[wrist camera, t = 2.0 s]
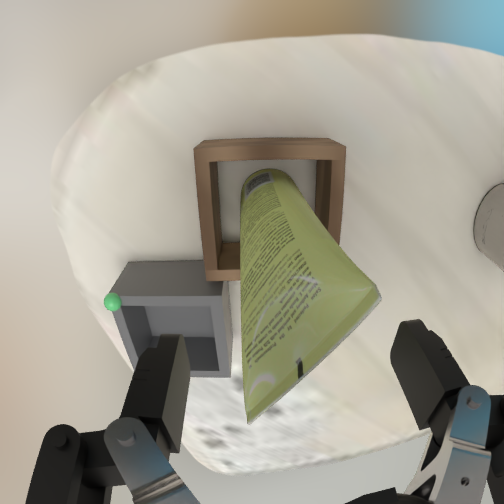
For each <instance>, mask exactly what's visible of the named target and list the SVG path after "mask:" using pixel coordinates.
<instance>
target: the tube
mask: <svg viewBox="0 0 504 504" xmlns="http://www.w3.org/2000/svg"><path fill="white" fill-rule="evenodd" d="M240 279H241V334H242V368H243V388H244V402H245V410H246V415H247V424H248V425H250V424H251V423H252V422H253V421H255V420H256V419H257V418H258V417H260V416H261V415H262V414H263V413H264V412H265V411H267V410H268V409H269V408H270V407H271V406H273V405H274V404H275V403H276V402H277V401H279V400H280V399H281V398H282V397H283V396H284V395H285V394H287V393H288V392H289V391H290V390H291V389H292V388H293V387H294V386H295V385H296V384H298V383H299V382H300V381H301V380H302V379H303V378H304V377H305V376H306V375H307V374H309V373H310V372H311V371H312V370H313V369H314V368H315V367H316V366H317V365H319V364H320V363H321V362H322V361H323V360H324V359H325V358H326V357H327V356H328V355H329V354H330V353H331V352H332V351H333V350H334V349H335V348H336V347H337V346H338V345H339V344H340V343H341V342H342V341H344V340H345V339H346V338H347V337H348V336H349V335H350V334H351V333H352V332H353V331H354V330H355V329H356V328H357V327H358V326H359V325H360V324H361V323H362V321H363V320H364V319H365V318H366V317H367V316H368V315H369V314H370V313H371V312H372V311H373V310H374V308H375V307H376V306H377V305H378V304H379V303H380V301H381V299H382V297H381V295H380V293H379V291H378V289H377V287H376V284H374V283H373V282H372V281H371V280H370V279H369V278H368V277H367V276H366V275H365V274H364V273H363V272H362V271H361V270H360V269H359V268H358V267H357V266H356V265H355V264H354V263H353V262H352V261H351V259H350V258H349V257H348V256H347V255H346V254H345V252H344V251H343V250H342V249H341V247H340V246H339V245H338V244H337V242H336V241H335V240H334V239H333V237H332V236H331V235H330V233H329V232H328V231H327V230H326V228H325V227H324V226H323V224H322V223H321V222H320V220H319V219H318V217H317V216H316V215H315V213H314V212H313V211H312V209H311V208H310V206H309V205H308V203H307V202H306V200H305V199H304V197H303V196H302V194H301V192H300V191H299V189H298V188H297V186H296V184H295V183H294V181H293V180H292V179H291V178H290V177H289V176H288V175H287V174H286V173H284V172H282V171H279V170H276V169H264V170H260V171H258V172H256V173H254V174H253V175H251V176H250V177H249V178H248V179H247V181H246V182H245V184H244V185H243V188H242V192H241V208H240Z"/></svg>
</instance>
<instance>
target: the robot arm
mask: <svg viewBox="0 0 504 504" xmlns="http://www.w3.org/2000/svg"><path fill="white" fill-rule="evenodd" d="M474 237H475V242H476V245H477V247H478V248H479V250H480V251H481V252H482V253H483V254H485V255H486V256H487V257H488V258H489V259H490V260H492V261H493V262H494V263H495V264H496V265H497V266H498V267H499V268H500V269H501V270H503V271H504V184H500V185H498V186H496V187H494V188H493V189H492V190H491V191H490V192H489V193H488V194H487V195H486V196H485V198H484V200H483V201H482V203H481V205H480V207H479V210H478V212H477V216H476V219H475V225H474ZM390 359H391V364H392V367H393V369H394V371H395V373H396V376H397V378H398V380H399V382H400V385H401V387H402V389H403V392H404V394H405V396H406V399H407V401H408V403H409V406H410V408H411V410H412V413H413V415H414V418H415V420H416V423H417V425H418V428H419V430H422V429H426V428H429V427H430V428H431V431H432V432H431V434H430V436H429V438H428V441H427V444H426V447H425V450H424V453H423V455H422V458H421V461H420V463H419V466H418V469H417V471H416V474H415V476H414V478H413V479H412V481H411V482H410V483H409V485H408V486H407V488H406V490H405V492H404V494H399V493H396V489H395V487H393V488H390V489H386V490H382V491H378V492H375V493H370V494H366V495H363V496H361V497H359V498H356V499H354V500H352V501H350V502H348V503H345V504H480V503H481V499H482V495H483V492H484V488H485V484H486V480H487V482H488V485H489V488H490V492H491V495H492V498H493V502H494V504H504V395H488V393H487V392H486V391H485V390H484V389H483V388H481V387H479V386H476V385H470V384H469V382H468V380H467V379H466V377H465V375H464V374H463V372H462V370H461V369H460V367H459V365H458V364H457V362H456V361H455V359H454V357H452V354H451V353H450V351H449V349H448V350H447V346H446V345H445V343H444V342H443V340H442V339H441V338H440V337H439V336H438V335H437V334H435V333H434V332H433V331H432V330H430V331H428V329H427V328H426V326H425V325H424V323H423V322H422V321H421V320H420V319H416V320H409V321H402V322H401V323H400V325H399V328H398V331H397V334H396V337H395V340H394V343H393V346H392V348H391V353H390ZM189 382H190V363H189V358H188V354H187V350H186V345H185V341H184V337H183V335H182V334H161V335H160V338H159V341H158V345H157V348H150V347H148V348H147V349H146V350H145V351H144V352H143V353H142V355H141V356H140V357H139V359H138V362H137V365H136V368H135V371H134V374H133V377H132V381H131V383H130V386H129V390H128V393H127V396H126V399H125V402H124V406H123V409H122V412H121V415H120V417H119V419H116V420H115V421H113V422H112V423H111V424H109V425H108V427H107V428H106V429H105V430H101V431H94V432H85V433H78V432H77V431H76V429H75V428H73V427H72V426H69V425H66V424H60V425H57V426H54V427H52V428H51V429H50V430H49V431H48V432H47V433H46V435H45V437H44V439H43V442H42V445H41V449H40V452H39V455H38V458H37V461H36V465H35V469H34V472H33V475H32V479H31V483H30V487H29V491H28V495H27V499H26V504H110V500H111V494H112V487H113V486H118V485H127V487H128V488H129V490H130V492H131V494H132V496H133V502H134V504H200V503H199V501H198V500H197V499H196V498H195V496H194V495H193V494H192V492H191V491H190V490H189V489H188V487H187V486H186V485H185V484H184V482H183V481H182V480H181V478H180V477H179V476H178V475H177V473H176V472H175V471H174V469H173V468H172V466H171V465H170V463H169V456H170V453H179V452H180V444H181V437H182V429H183V422H184V415H185V408H186V402H187V395H188V388H189Z"/></svg>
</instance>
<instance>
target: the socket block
mask: <svg viewBox="0 0 504 504" xmlns="http://www.w3.org/2000/svg"><path fill="white" fill-rule="evenodd" d="M104 305H105V307H106V308H107V309H108V310H110V311H112V312H113V315H114V318H115V321H116V324H117V327H118V330H119V332H120V335H121V338H122V341H123V343H124V346H125V349H126V351H127V354H128V356H129V359H130V361H131V364H132V366H133V369H134V371H135V368H136V365H137V362H138V359H139V357H140V356H141V355H142V353H143V352H144V351H145V350H146V349H147V348H148V347H150V348H157V345H158V341H159V338H160V335H161V334H182V335H183V337H184V341H185V345H186V350H187V354H188V358H189V363H190V377H221V378H227V377H231V362H232V343H233V334H232V323H231V312H230V300H229V288H228V281H206V274H205V265H204V260H191V261H153V262H128V264H127V265H126V267H125V268H124V270H123V271H122V273H121V275H120V276H119V278H118V279H117V281H116V282H115V284H114V286H113V287H112V289H111V290H110V292H109V293H108V294H107V295H106V296H105V298H104Z"/></svg>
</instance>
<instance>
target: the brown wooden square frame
mask: <svg viewBox="0 0 504 504" xmlns="http://www.w3.org/2000/svg"><path fill="white" fill-rule="evenodd" d="M272 159H316V160H317V172H316V201H315V215H316V216H317V217H318V219H319V220H320V222H321V223H322V224H323V226H324V227H325V228H326V230H327V231H328V232H329V233H330V235H331V236H332V237H333V239H334V240H335V241H336V242H337V244H338V245H339V242H340V232H341V221H342V208H343V194H344V178H345V159H346V146H344V145H342V144H340V143H337V142H335V141H333V140H331V139H329V138H242V139H220V140H204V141H203V142H201V143H200V144H199V145H198V146H196V147H195V148H194V160H195V173H196V185H197V197H198V208H199V218H200V228H201V238H202V247H203V256H204V265H205V274H206V281H236V280H241V279H240V242H235V243H222V232H221V218H220V204H219V189H218V173H217V161H236V160H272Z"/></svg>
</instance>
